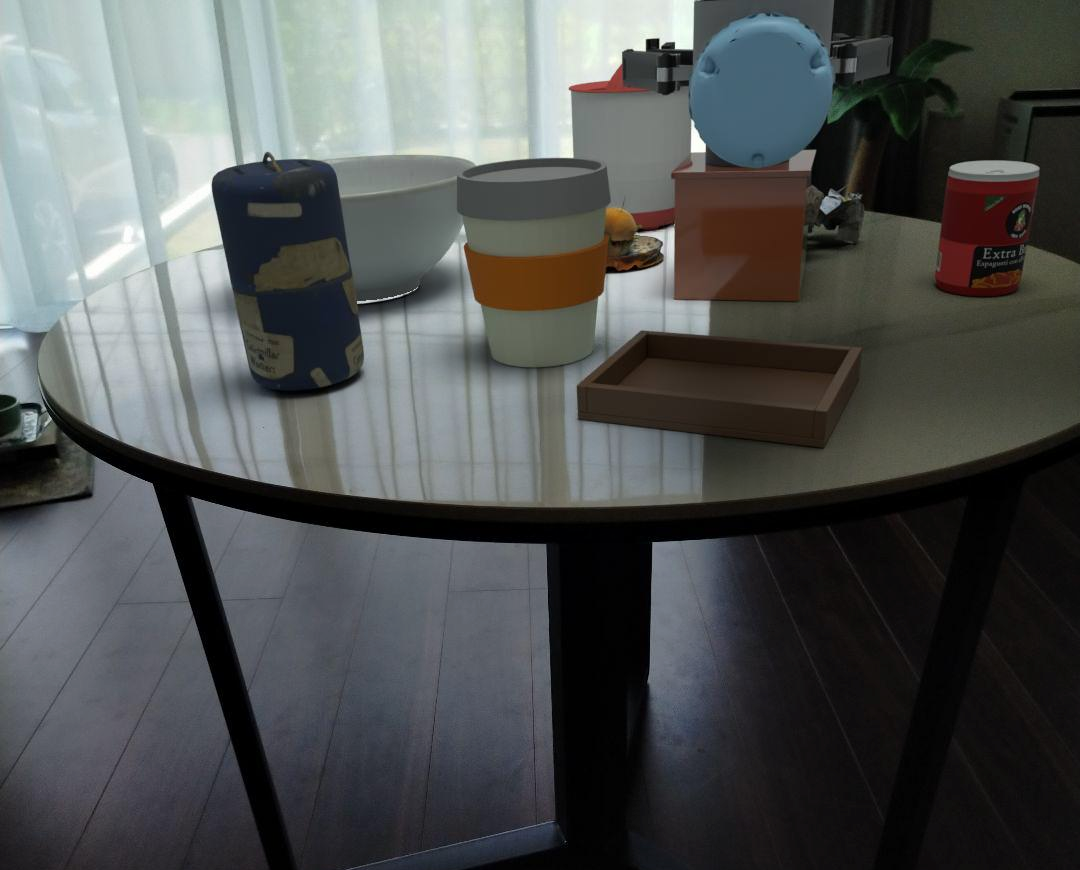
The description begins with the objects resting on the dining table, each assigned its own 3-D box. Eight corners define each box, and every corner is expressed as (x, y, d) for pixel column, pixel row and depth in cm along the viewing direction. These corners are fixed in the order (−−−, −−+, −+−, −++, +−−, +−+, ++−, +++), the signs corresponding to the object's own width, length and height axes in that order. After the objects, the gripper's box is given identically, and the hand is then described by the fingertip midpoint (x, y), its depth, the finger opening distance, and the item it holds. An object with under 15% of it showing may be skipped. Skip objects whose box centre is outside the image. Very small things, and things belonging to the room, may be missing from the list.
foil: (906, 220, 109) (810, 152, 102) (849, 307, 112) (752, 248, 105) (848, 198, 118) (757, 135, 111) (797, 279, 122) (705, 223, 115)
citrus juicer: (703, 209, 137) (707, 48, 128) (679, 236, 123) (681, 57, 113) (594, 209, 142) (590, 53, 132) (559, 235, 128) (551, 63, 118)
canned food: (977, 302, 92) (996, 177, 86) (915, 284, 98) (929, 166, 93) (1038, 288, 94) (1061, 166, 89) (974, 272, 101) (991, 157, 96)
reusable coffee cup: (443, 351, 88) (424, 173, 81) (556, 320, 94) (547, 153, 87) (525, 385, 79) (512, 188, 72) (644, 349, 85) (643, 164, 78)
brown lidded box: (808, 270, 105) (816, 149, 100) (801, 302, 95) (810, 170, 89) (689, 268, 109) (690, 152, 103) (670, 300, 98) (671, 172, 93)
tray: (859, 380, 76) (862, 347, 75) (824, 448, 65) (827, 411, 64) (641, 360, 83) (640, 329, 82) (577, 419, 72) (576, 385, 71)
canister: (366, 355, 88) (334, 139, 80) (368, 391, 80) (333, 153, 71) (256, 367, 87) (212, 148, 78) (247, 404, 79) (196, 165, 70)
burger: (645, 245, 120) (645, 180, 117) (678, 266, 110) (679, 196, 106) (549, 255, 118) (545, 190, 115) (573, 278, 108) (570, 207, 104)
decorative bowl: (434, 250, 124) (423, 147, 118) (527, 295, 103) (519, 172, 97) (217, 285, 114) (193, 175, 109) (270, 343, 93) (244, 210, 87)
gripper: (569, 143, 69) (604, 110, 87) (949, 130, 64) (902, 98, 83) (565, 21, 65) (603, 13, 83) (967, -1, 61) (914, -5, 79)
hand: (752, 55), depth 83 cm, fingers open, 13 cm apart
